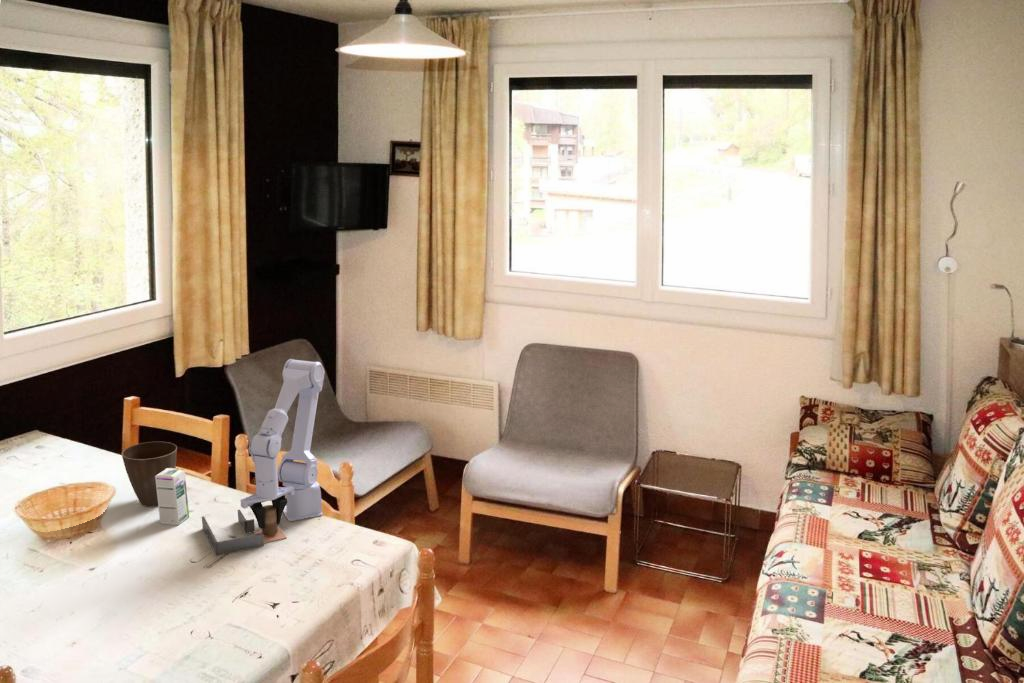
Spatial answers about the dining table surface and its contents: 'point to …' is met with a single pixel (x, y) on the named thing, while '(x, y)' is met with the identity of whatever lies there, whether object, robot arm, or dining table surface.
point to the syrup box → (172, 496)
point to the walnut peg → (270, 520)
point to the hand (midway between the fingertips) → (269, 525)
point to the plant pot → (148, 467)
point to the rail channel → (236, 543)
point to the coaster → (273, 536)
